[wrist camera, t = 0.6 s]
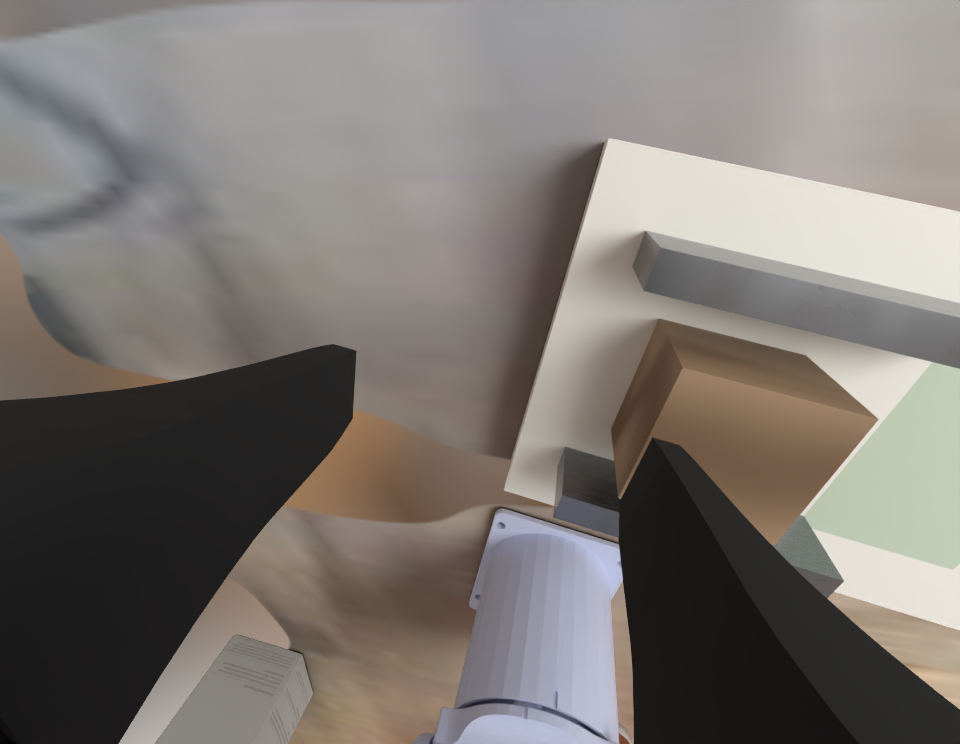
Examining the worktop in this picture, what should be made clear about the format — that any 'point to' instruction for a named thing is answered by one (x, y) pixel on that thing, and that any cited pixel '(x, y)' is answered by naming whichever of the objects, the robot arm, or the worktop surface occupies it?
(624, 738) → the coffee cup
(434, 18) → the worktop surface
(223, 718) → the supplement box
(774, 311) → the channel walls
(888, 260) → the channel board
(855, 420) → the walnut block
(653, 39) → the worktop surface
